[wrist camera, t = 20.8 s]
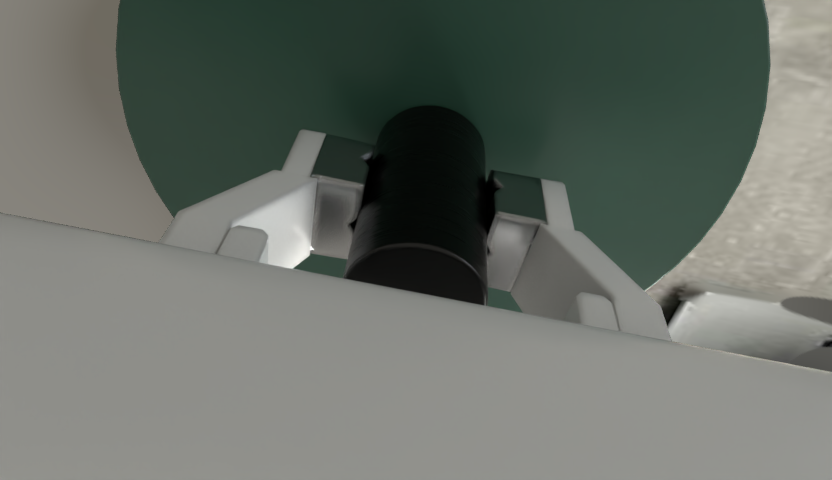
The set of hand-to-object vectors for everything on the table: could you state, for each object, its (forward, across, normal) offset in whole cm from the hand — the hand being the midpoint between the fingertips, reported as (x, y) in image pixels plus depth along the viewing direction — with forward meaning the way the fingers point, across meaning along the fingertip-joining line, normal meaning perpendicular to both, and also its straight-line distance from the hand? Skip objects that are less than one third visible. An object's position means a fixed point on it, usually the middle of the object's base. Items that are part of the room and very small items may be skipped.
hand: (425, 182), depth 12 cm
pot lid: (+2, 0, 0) cm, 2 cm away
